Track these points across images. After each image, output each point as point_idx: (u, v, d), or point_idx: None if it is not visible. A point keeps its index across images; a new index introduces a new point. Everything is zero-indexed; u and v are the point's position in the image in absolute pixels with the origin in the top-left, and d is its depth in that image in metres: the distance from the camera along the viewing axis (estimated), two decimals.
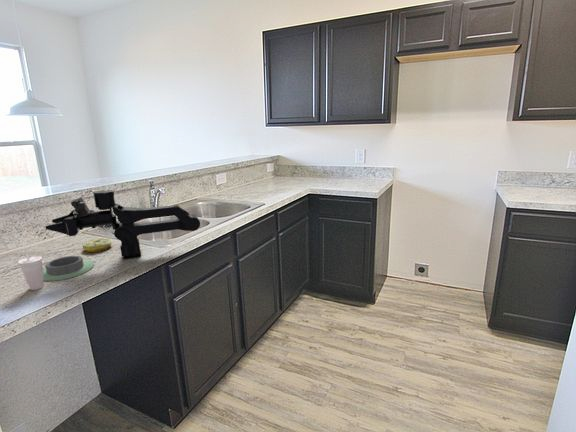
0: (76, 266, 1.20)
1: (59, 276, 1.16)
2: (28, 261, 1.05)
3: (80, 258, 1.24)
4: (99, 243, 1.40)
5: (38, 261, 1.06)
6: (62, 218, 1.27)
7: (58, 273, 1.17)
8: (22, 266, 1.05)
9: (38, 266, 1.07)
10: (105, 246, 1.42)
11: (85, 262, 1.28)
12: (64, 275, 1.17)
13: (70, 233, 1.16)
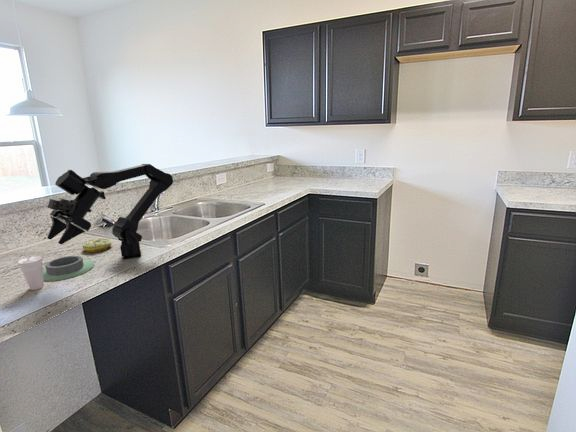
0: (76, 266, 1.20)
1: (59, 276, 1.16)
2: (28, 261, 1.05)
3: (80, 258, 1.24)
4: (99, 243, 1.40)
5: (38, 261, 1.06)
6: (53, 229, 1.15)
7: (58, 273, 1.17)
8: (22, 266, 1.05)
9: (38, 266, 1.07)
10: (105, 246, 1.42)
11: (85, 262, 1.28)
12: (64, 275, 1.17)
13: (86, 228, 1.11)
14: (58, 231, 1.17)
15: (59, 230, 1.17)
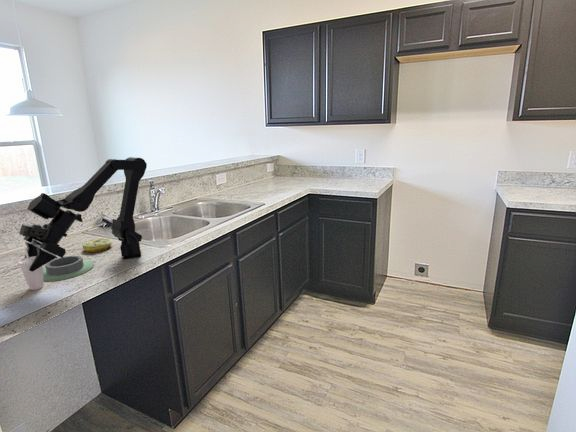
0: (76, 266, 1.20)
1: (59, 276, 1.16)
2: (28, 261, 1.05)
3: (80, 258, 1.24)
4: (99, 243, 1.40)
5: None
6: None
7: (58, 273, 1.17)
8: (22, 266, 1.05)
9: None
10: (105, 246, 1.42)
11: (85, 262, 1.28)
12: (64, 275, 1.17)
13: (60, 255, 1.05)
14: None
15: None
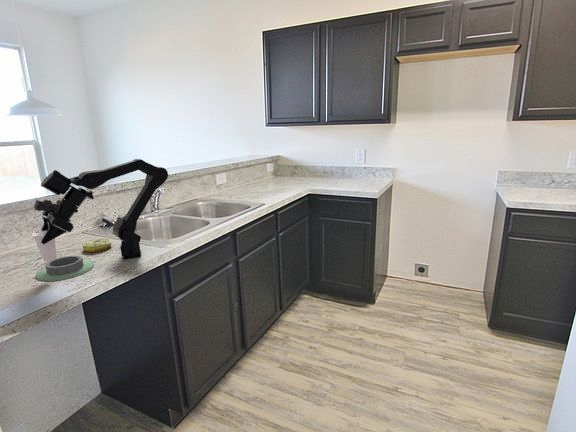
0: (76, 266, 1.20)
1: (59, 276, 1.16)
2: (41, 234, 1.11)
3: (80, 258, 1.24)
4: (99, 243, 1.40)
5: None
6: (43, 229, 1.16)
7: (58, 273, 1.17)
8: (35, 238, 1.11)
9: None
10: (105, 246, 1.42)
11: (85, 262, 1.28)
12: (64, 275, 1.17)
13: (68, 229, 1.10)
14: None
15: None
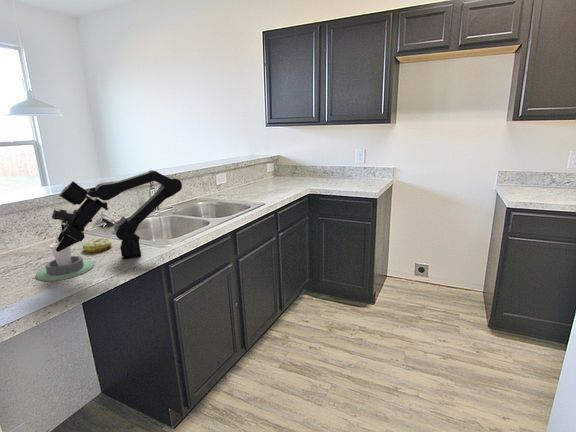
0: (76, 266, 1.20)
1: (59, 276, 1.16)
2: (57, 245, 1.18)
3: (80, 258, 1.24)
4: (99, 243, 1.40)
5: None
6: (61, 236, 1.23)
7: (58, 273, 1.17)
8: (52, 249, 1.18)
9: (65, 250, 1.19)
10: (105, 246, 1.42)
11: (85, 262, 1.28)
12: (64, 275, 1.17)
13: (79, 239, 1.15)
14: None
15: None
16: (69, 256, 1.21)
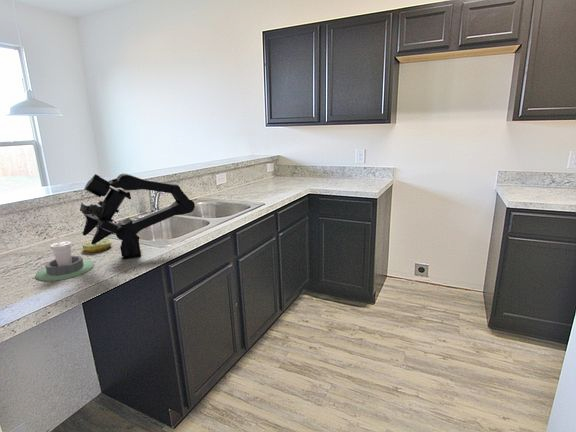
0: (76, 266, 1.20)
1: (59, 276, 1.16)
2: (57, 245, 1.18)
3: (80, 258, 1.24)
4: (99, 243, 1.40)
5: (65, 246, 1.18)
6: (87, 226, 1.28)
7: (58, 273, 1.17)
8: (52, 249, 1.18)
9: (65, 250, 1.19)
10: (105, 246, 1.42)
11: (85, 262, 1.28)
12: (64, 275, 1.17)
13: (114, 231, 1.21)
14: (91, 228, 1.29)
15: (92, 226, 1.29)
16: (69, 256, 1.21)
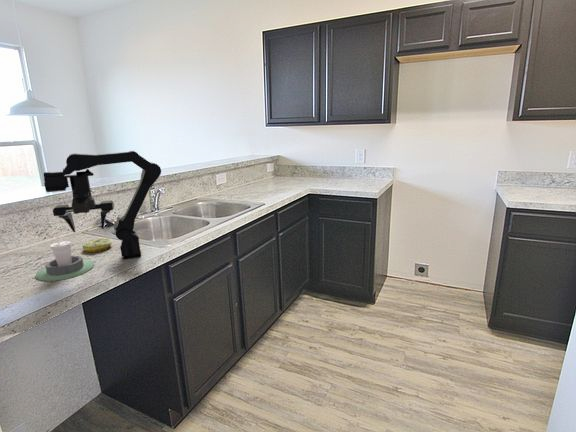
0: (76, 266, 1.20)
1: (59, 276, 1.16)
2: (57, 245, 1.18)
3: (80, 258, 1.24)
4: (99, 243, 1.40)
5: (65, 246, 1.18)
6: (72, 223, 1.22)
7: (58, 273, 1.17)
8: (52, 249, 1.18)
9: (65, 250, 1.19)
10: (105, 246, 1.42)
11: (85, 262, 1.28)
12: (64, 275, 1.17)
13: (113, 205, 1.28)
14: (73, 222, 1.23)
15: (72, 220, 1.23)
16: (69, 256, 1.21)
